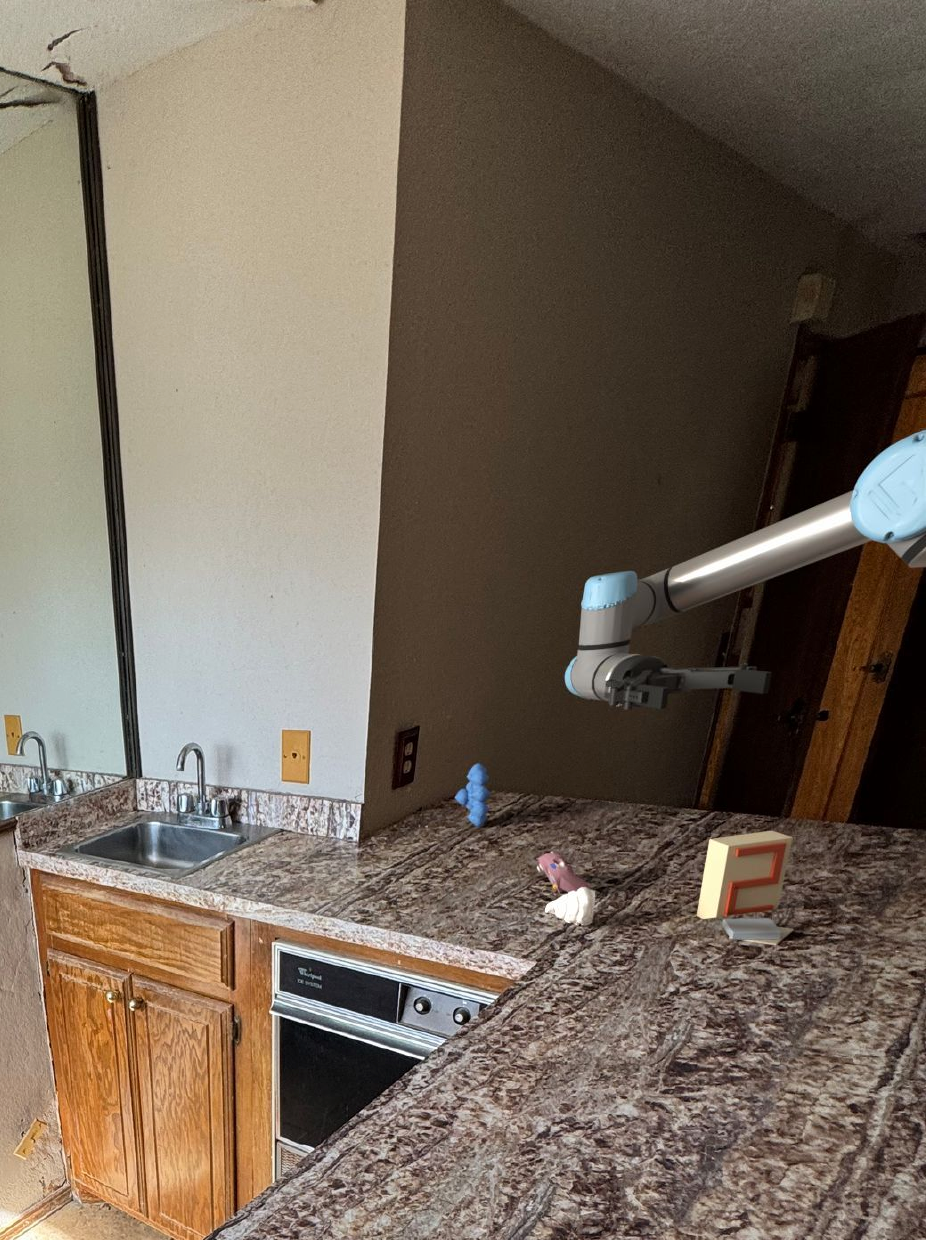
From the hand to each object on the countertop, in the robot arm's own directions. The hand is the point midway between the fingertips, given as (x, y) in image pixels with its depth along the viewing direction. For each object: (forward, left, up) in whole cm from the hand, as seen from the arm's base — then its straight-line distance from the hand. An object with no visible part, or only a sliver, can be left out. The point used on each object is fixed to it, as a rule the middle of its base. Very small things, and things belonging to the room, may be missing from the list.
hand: (716, 690), depth 122 cm
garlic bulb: (+22, +10, -28) cm, 37 cm away
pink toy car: (+16, -5, -28) cm, 33 cm away
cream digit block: (+2, +15, -28) cm, 32 cm away
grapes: (+13, -50, -28) cm, 59 cm away
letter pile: (+6, +26, -28) cm, 38 cm away
